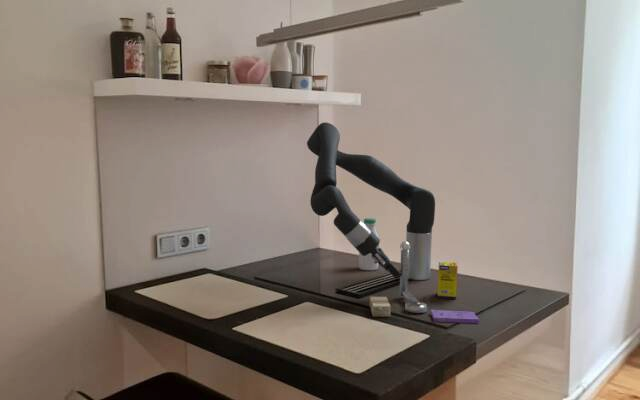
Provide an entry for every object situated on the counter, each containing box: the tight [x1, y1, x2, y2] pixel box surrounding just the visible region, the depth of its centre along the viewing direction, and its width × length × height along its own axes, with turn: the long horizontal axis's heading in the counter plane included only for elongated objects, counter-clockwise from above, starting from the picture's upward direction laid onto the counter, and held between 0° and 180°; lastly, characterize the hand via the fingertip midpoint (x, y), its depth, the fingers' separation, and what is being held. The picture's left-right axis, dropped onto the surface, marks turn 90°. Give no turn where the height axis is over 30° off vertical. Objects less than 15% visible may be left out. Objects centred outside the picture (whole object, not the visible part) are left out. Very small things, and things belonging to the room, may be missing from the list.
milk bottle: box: [358, 217, 380, 271], centre depth 219 cm, size 8×8×20 cm
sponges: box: [430, 309, 480, 324], centre depth 160 cm, size 7×13×2 cm, turn 86°
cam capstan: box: [399, 240, 428, 314], centre depth 171 cm, size 18×6×18 cm, turn 8°
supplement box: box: [436, 261, 458, 300], centre depth 182 cm, size 6×6×11 cm
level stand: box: [369, 296, 392, 318], centre depth 164 cm, size 11×5×3 cm, turn 1°
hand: (398, 276), depth 179 cm, fingers closed
